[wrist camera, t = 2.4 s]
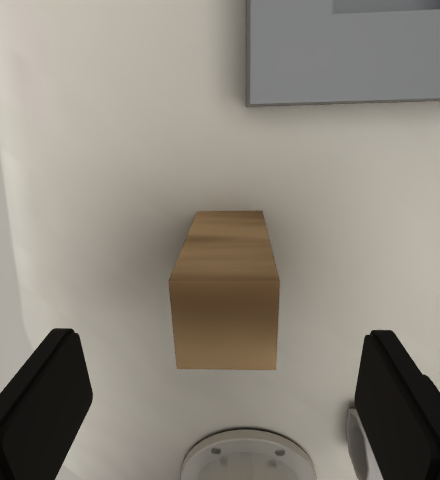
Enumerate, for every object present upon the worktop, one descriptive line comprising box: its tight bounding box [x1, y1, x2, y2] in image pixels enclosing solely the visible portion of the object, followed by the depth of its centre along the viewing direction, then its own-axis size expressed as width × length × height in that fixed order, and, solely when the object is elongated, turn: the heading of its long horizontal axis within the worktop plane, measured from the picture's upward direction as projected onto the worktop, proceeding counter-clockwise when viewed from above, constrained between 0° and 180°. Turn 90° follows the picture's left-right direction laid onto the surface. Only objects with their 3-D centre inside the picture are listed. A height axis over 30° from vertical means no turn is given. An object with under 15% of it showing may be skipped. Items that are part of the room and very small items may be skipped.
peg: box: [169, 211, 280, 370], centre depth 19 cm, size 4×4×10 cm
